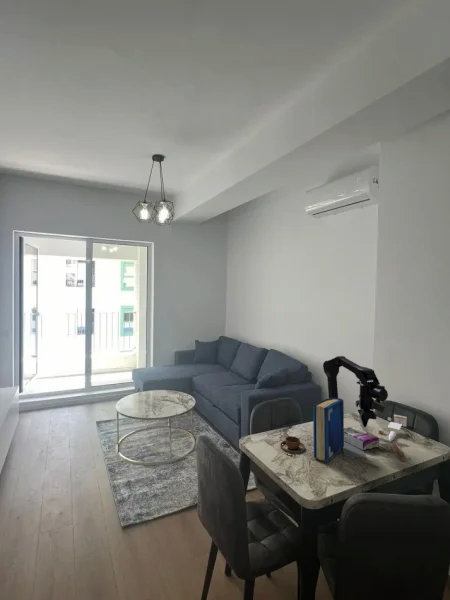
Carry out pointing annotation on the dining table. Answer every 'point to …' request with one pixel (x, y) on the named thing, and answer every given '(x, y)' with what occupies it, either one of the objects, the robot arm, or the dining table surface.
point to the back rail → (398, 452)
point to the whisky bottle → (395, 425)
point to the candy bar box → (360, 438)
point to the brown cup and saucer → (293, 444)
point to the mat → (353, 451)
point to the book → (328, 428)
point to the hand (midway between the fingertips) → (364, 426)
